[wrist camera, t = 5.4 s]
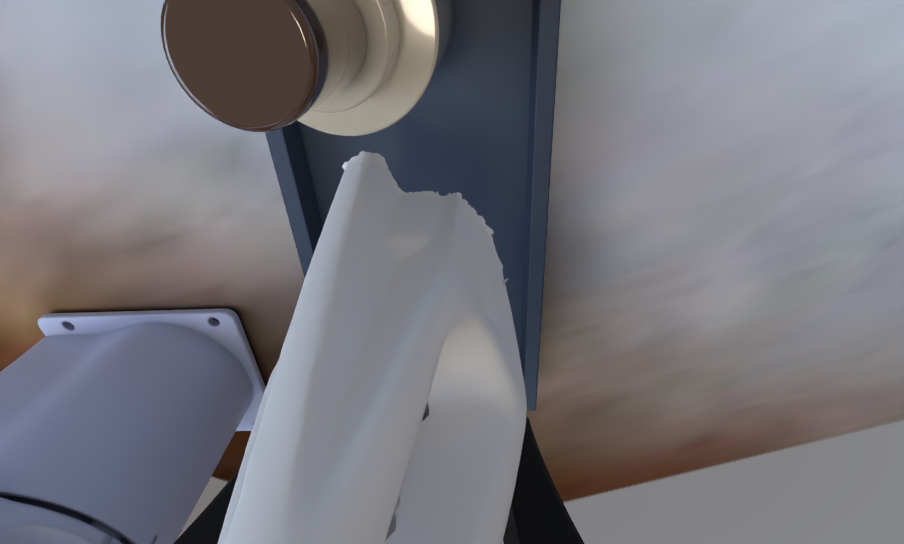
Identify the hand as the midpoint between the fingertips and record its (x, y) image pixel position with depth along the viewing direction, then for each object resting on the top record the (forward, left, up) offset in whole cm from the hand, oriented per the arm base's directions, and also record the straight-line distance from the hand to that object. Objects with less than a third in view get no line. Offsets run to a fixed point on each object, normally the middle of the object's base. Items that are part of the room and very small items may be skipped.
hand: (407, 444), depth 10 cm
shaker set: (0, 0, -4) cm, 4 cm away
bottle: (0, +9, -9) cm, 12 cm away
